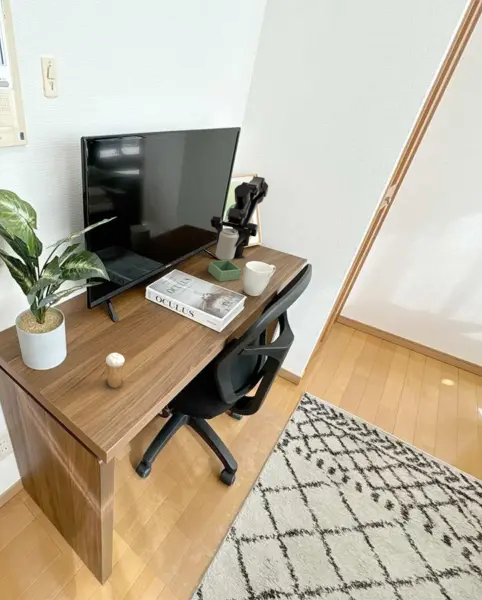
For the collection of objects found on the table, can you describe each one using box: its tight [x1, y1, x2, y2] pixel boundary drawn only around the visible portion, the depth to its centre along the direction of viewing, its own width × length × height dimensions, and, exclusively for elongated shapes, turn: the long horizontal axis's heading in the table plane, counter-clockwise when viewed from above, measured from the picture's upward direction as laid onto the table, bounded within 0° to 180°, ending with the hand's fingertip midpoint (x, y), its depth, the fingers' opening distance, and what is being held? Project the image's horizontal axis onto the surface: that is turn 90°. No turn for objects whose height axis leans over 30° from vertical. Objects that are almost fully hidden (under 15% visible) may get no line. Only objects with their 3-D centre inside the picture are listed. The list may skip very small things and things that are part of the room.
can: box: [215, 227, 239, 261], centre depth 131 cm, size 8×8×12 cm
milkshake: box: [105, 352, 126, 389], centre depth 79 cm, size 4×5×10 cm
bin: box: [207, 260, 242, 282], centre depth 135 cm, size 9×9×4 cm
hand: (226, 243), depth 130 cm, fingers closed on can, 7 cm apart
